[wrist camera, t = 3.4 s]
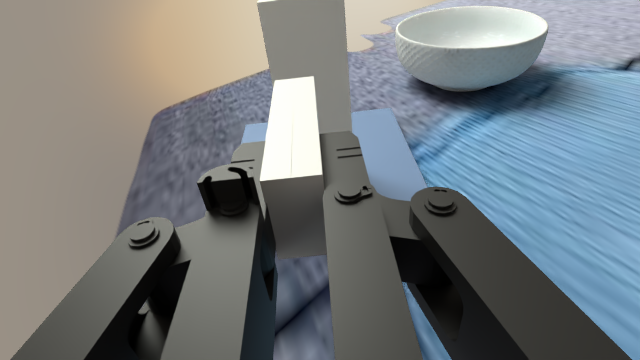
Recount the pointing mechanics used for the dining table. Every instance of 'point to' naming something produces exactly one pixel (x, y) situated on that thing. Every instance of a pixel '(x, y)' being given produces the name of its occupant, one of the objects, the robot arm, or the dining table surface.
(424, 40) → the cereal bowl
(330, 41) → the white upright block
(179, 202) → the dining table surface
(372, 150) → the switch board
